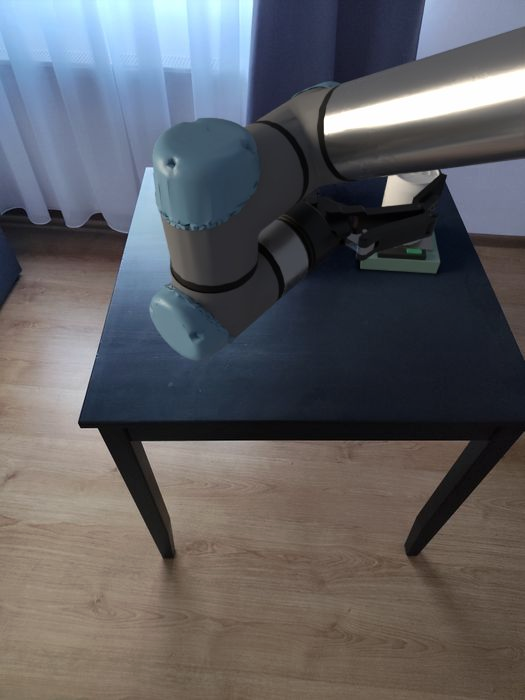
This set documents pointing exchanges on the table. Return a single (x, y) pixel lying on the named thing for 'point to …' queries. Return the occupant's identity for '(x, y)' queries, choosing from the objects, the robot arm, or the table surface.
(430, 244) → the weighing plate
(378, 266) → the scale
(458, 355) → the table surface
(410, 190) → the beverage can
